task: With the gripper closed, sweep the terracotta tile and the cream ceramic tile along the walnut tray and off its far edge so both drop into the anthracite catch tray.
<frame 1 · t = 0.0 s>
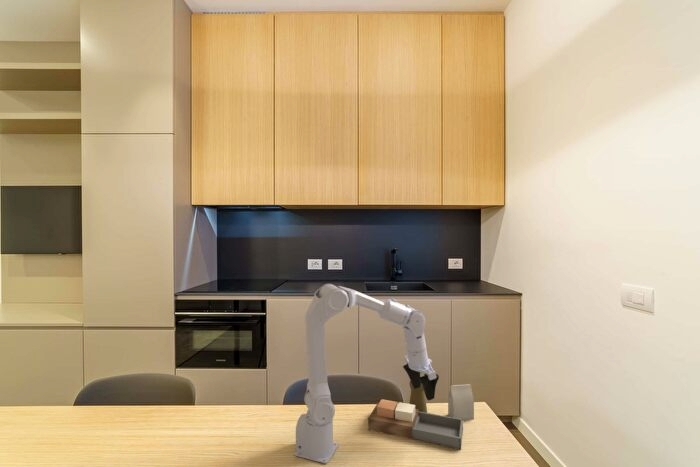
hand: (423, 393, 101), 11 cm above the table, tool pointing down, fingers open, 7 cm apart
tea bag: (460, 417, 107), on the table
cream ceramic tile: (405, 415, 101), point 3 cm above the table, touching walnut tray
catch tray: (438, 434, 98), on the table
olive pepper mill: (417, 413, 109), on the table
terracotta tile: (387, 412, 103), point 3 cm above the table, touching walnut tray
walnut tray: (394, 425, 103), on the table
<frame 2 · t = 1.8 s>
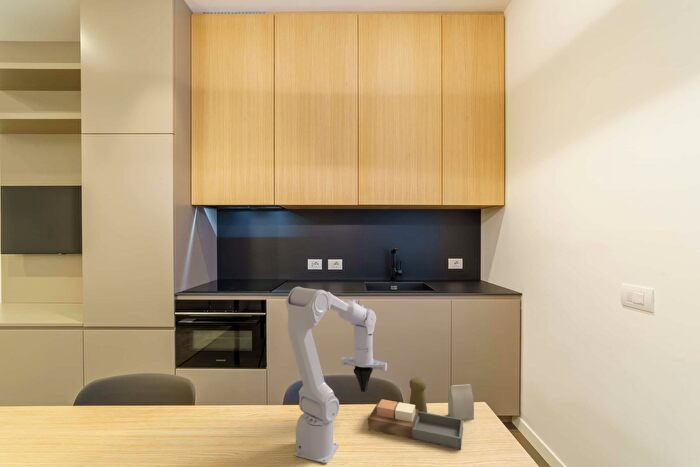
hand: (364, 390, 106), 9 cm above the table, tool pointing down, fingers closed
nothing on the table moved.
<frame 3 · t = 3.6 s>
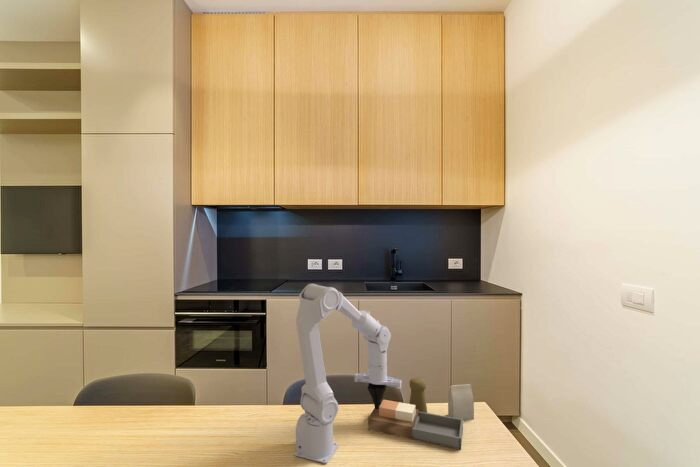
hand: (377, 407, 104), 4 cm above the table, tool pointing down, fingers closed
cream ceramic tile: (405, 416, 101), point 3 cm above the table, touching terracotta tile, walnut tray
terracotta tile: (389, 412, 103), point 3 cm above the table, touching cream ceramic tile, gripper, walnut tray
everything else where it was.
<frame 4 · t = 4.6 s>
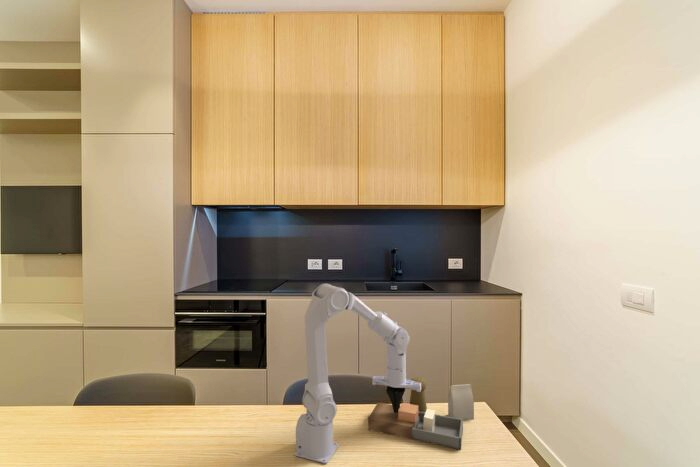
hand: (396, 411, 102), 4 cm above the table, tool pointing down, fingers closed
cream ceramic tile: (425, 421, 99), point 3 cm above the table, tilted 93°, touching catch tray
terracotta tile: (408, 416, 101), point 4 cm above the table, touching gripper
everything else where it was.
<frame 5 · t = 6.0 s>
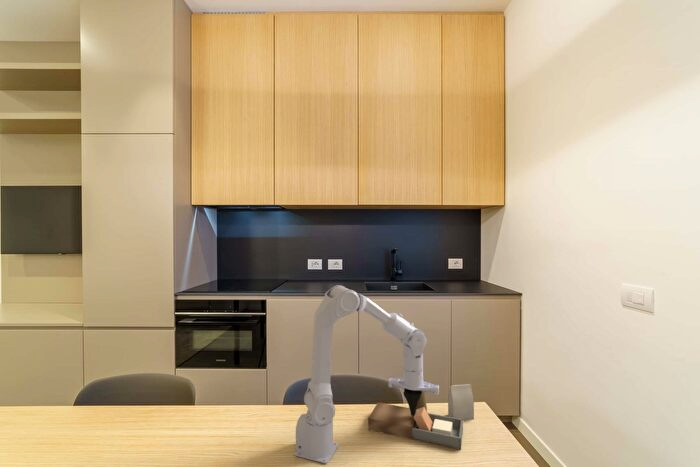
hand: (413, 414, 100), 4 cm above the table, tool pointing down, fingers closed
cream ceramic tile: (442, 425, 97), point 3 cm above the table, tilted 180°, touching catch tray
terracotta tile: (419, 421, 100), point 3 cm above the table, tilted 60°, touching catch tray, gripper
everything else where it was.
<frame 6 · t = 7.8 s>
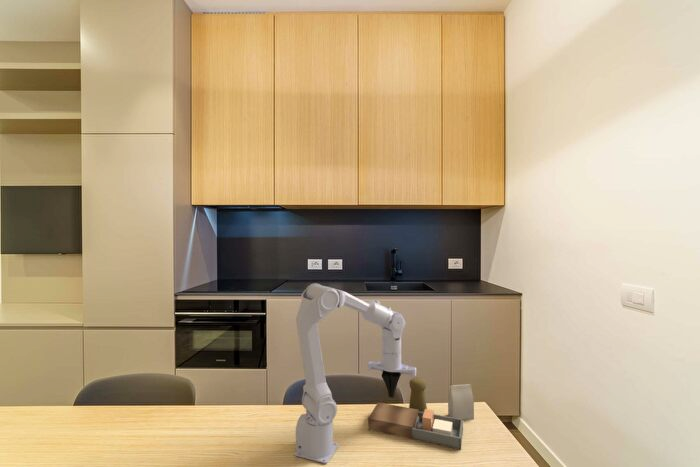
hand: (391, 396, 103), 9 cm above the table, tool pointing down, fingers closed
terracotta tile: (423, 421, 99), point 3 cm above the table, tilted 90°, touching catch tray
everything else where it was.
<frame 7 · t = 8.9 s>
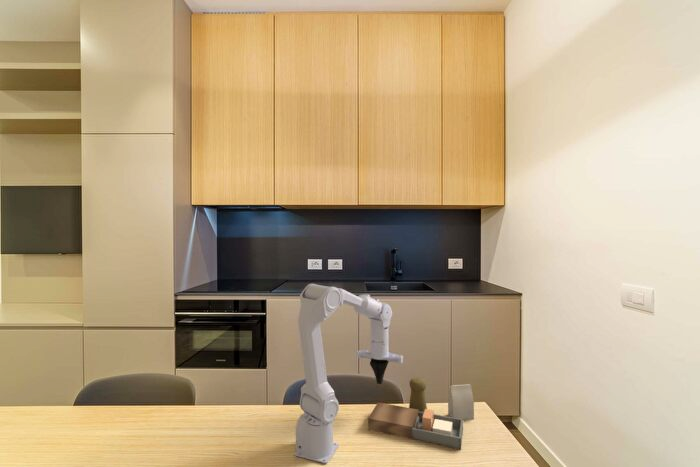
hand: (379, 382, 108), 10 cm above the table, tool pointing down, fingers closed
nothing on the table moved.
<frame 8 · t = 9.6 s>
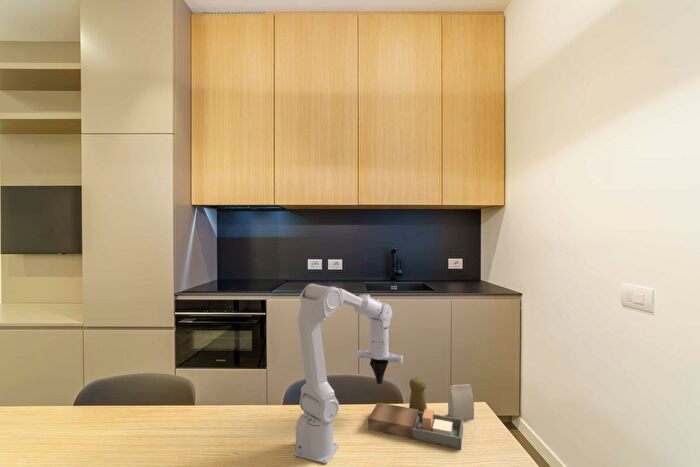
hand: (379, 382, 108), 10 cm above the table, tool pointing down, fingers closed
nothing on the table moved.
at the end: terracotta tile inside the target area (4.1 cm from its centre), point 2.9 cm above the table; cream ceramic tile inside the target area (1.2 cm from its centre), point 2.9 cm above the table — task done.
